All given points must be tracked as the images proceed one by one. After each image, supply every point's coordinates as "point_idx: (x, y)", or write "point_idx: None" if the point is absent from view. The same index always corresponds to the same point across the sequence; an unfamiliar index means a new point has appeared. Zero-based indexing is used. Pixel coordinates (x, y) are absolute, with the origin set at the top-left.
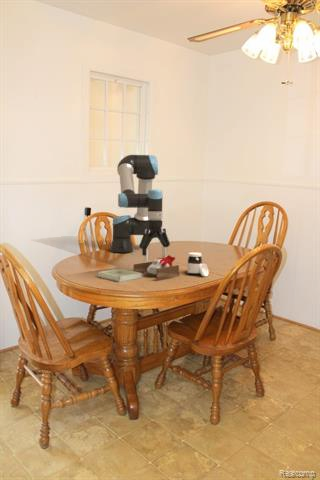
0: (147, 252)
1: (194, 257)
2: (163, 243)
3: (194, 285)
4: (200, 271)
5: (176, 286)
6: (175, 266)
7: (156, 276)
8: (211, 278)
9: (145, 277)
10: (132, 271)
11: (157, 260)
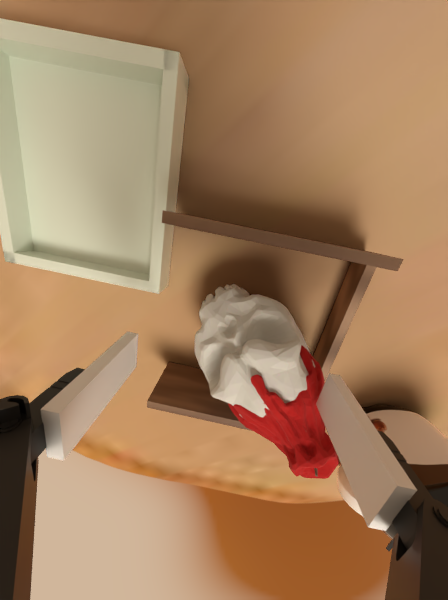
0: (85, 425)
1: None
2: (395, 589)
3: (192, 475)
4: (339, 482)
5: (143, 444)
6: None
7: (162, 374)
8: (329, 485)
9: (192, 292)
10: (157, 222)
11: (220, 394)
